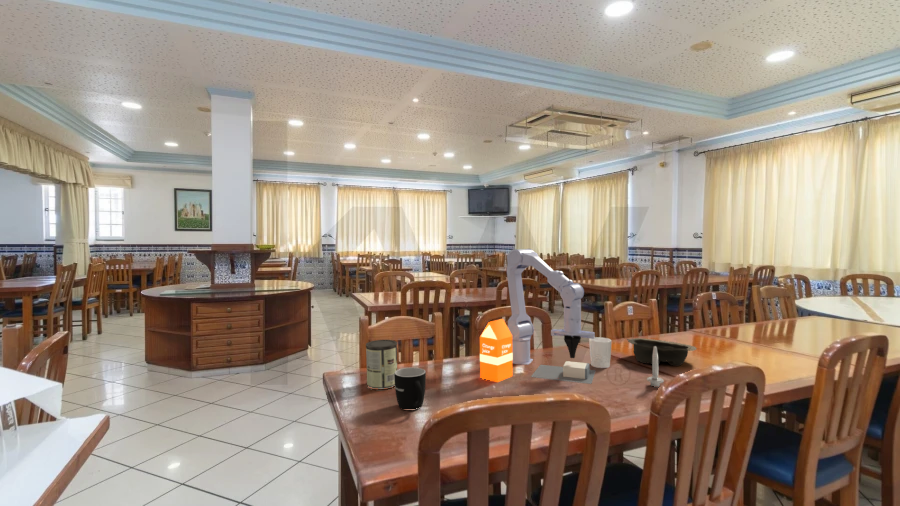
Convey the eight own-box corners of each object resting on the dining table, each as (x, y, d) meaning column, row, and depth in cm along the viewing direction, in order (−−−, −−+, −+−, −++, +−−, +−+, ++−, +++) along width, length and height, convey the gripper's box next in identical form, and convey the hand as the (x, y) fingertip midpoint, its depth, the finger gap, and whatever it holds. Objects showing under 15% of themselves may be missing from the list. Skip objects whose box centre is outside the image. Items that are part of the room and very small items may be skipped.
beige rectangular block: (563, 366, 149) (587, 368, 146) (566, 361, 156) (589, 363, 153) (563, 376, 149) (587, 379, 146) (566, 370, 156) (589, 373, 153)
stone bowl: (630, 367, 160) (629, 341, 160) (623, 355, 183) (623, 333, 184) (705, 371, 152) (705, 344, 153) (689, 358, 176) (688, 335, 177)
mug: (390, 404, 127) (389, 370, 126) (418, 398, 131) (417, 365, 131) (406, 419, 116) (405, 381, 116) (436, 412, 120) (435, 376, 120)
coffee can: (376, 379, 150) (375, 338, 150) (403, 381, 147) (402, 340, 147) (360, 388, 141) (359, 345, 140) (389, 391, 137) (388, 347, 137)
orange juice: (479, 378, 150) (479, 320, 149) (495, 372, 156) (494, 317, 155) (498, 383, 144) (497, 323, 144) (513, 377, 151) (512, 319, 150)
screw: (655, 389, 136) (643, 384, 141) (667, 387, 138) (654, 382, 142) (655, 348, 136) (643, 345, 140) (667, 346, 138) (655, 343, 142)
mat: (530, 377, 149) (530, 377, 149) (540, 365, 164) (540, 364, 164) (591, 384, 141) (591, 383, 141) (595, 371, 156) (595, 370, 156)
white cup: (608, 363, 166) (608, 337, 165) (614, 369, 158) (614, 342, 158) (587, 363, 166) (587, 337, 166) (591, 369, 159) (591, 341, 158)
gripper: (549, 319, 150) (549, 358, 151) (593, 321, 144) (593, 362, 145) (552, 316, 157) (553, 353, 157) (595, 318, 151) (595, 357, 151)
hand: (572, 357), depth 151 cm, fingers closed
